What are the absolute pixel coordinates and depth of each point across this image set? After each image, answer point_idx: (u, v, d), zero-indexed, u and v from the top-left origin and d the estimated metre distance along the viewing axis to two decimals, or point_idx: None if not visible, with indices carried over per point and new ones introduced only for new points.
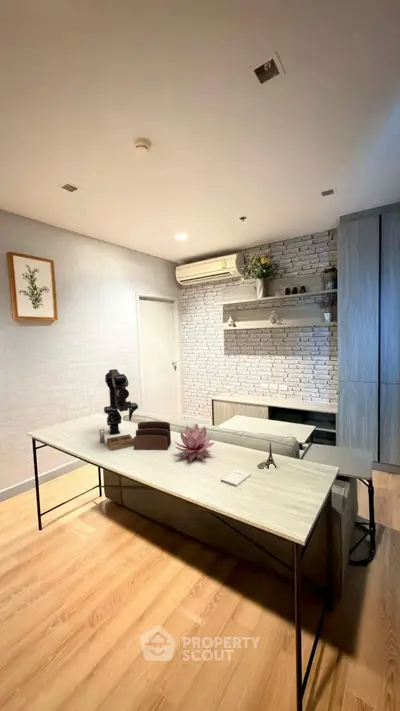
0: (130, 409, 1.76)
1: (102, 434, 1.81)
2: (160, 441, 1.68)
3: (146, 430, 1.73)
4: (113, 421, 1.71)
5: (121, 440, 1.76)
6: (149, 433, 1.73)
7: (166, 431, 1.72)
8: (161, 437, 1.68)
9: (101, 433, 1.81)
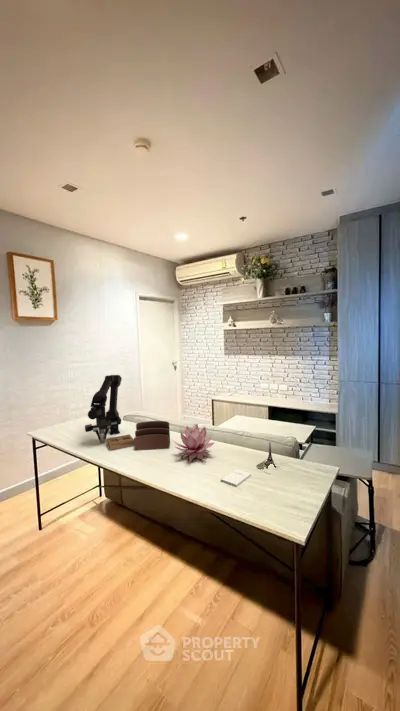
0: None
1: (102, 434, 1.81)
2: (162, 440, 1.69)
3: (146, 430, 1.73)
4: (98, 438, 1.81)
5: (121, 440, 1.76)
6: (149, 433, 1.73)
7: (166, 430, 1.74)
8: (163, 436, 1.69)
9: (101, 433, 1.81)
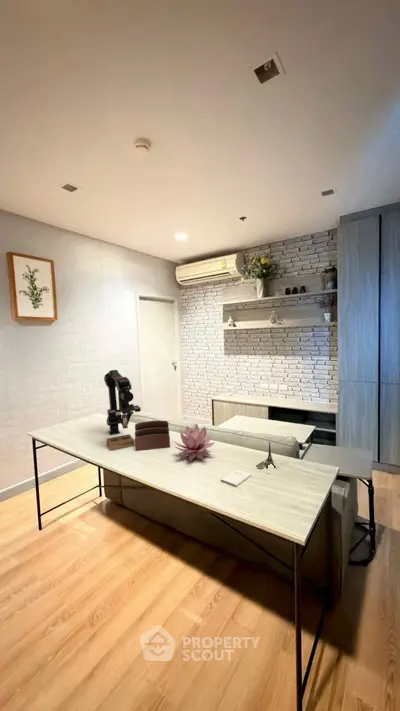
0: (128, 412, 1.79)
1: (125, 419, 1.77)
2: (162, 439, 1.70)
3: (146, 430, 1.73)
4: (121, 422, 1.77)
5: (121, 440, 1.76)
6: (149, 433, 1.73)
7: (166, 429, 1.75)
8: (163, 435, 1.70)
9: (124, 418, 1.77)
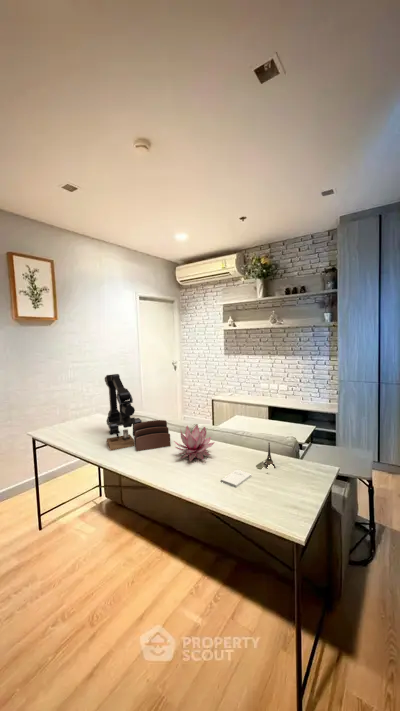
0: (134, 424, 1.81)
1: (126, 434, 1.78)
2: (163, 438, 1.72)
3: (146, 430, 1.73)
4: (117, 436, 1.76)
5: (121, 440, 1.76)
6: (149, 433, 1.74)
7: (166, 428, 1.77)
8: (164, 434, 1.72)
9: (125, 433, 1.78)
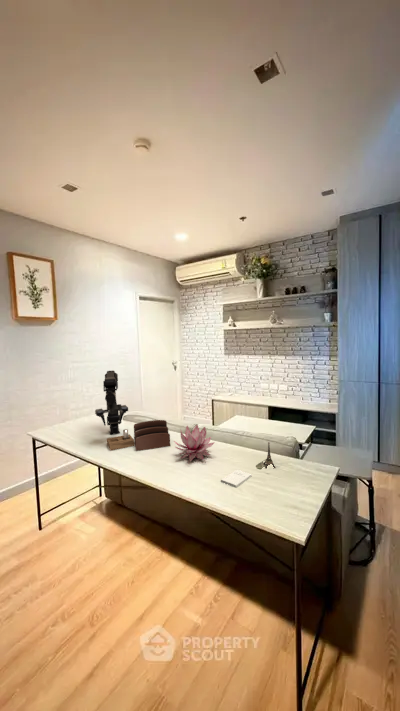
0: (120, 411, 1.83)
1: (126, 434, 1.78)
2: (163, 438, 1.72)
3: (146, 430, 1.73)
4: (104, 423, 1.78)
5: (121, 440, 1.76)
6: (149, 432, 1.74)
7: (166, 428, 1.77)
8: (164, 434, 1.72)
9: (125, 433, 1.78)
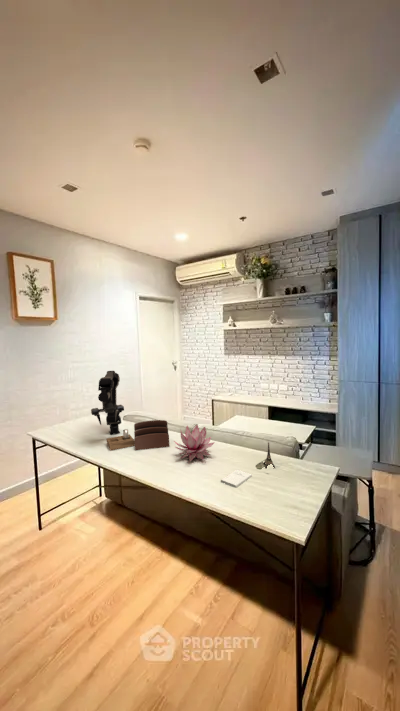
0: (116, 411, 1.83)
1: (126, 434, 1.78)
2: (162, 439, 1.72)
3: (145, 430, 1.74)
4: (100, 422, 1.79)
5: (121, 440, 1.76)
6: (148, 432, 1.74)
7: (166, 429, 1.76)
8: (163, 435, 1.72)
9: (125, 433, 1.78)
